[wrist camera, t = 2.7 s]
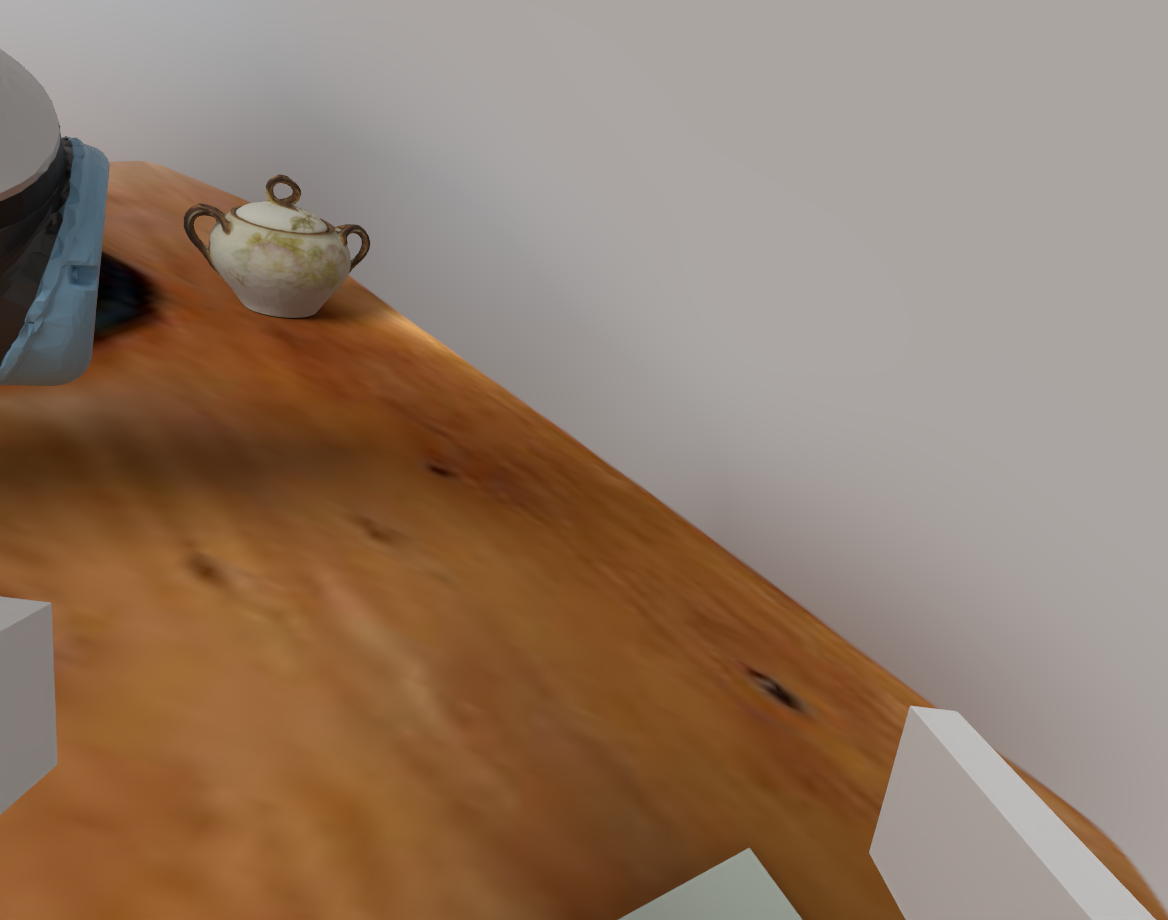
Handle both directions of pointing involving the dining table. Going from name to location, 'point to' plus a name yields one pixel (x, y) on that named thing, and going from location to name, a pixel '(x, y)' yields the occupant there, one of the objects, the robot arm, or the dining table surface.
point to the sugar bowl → (277, 253)
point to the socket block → (723, 895)
